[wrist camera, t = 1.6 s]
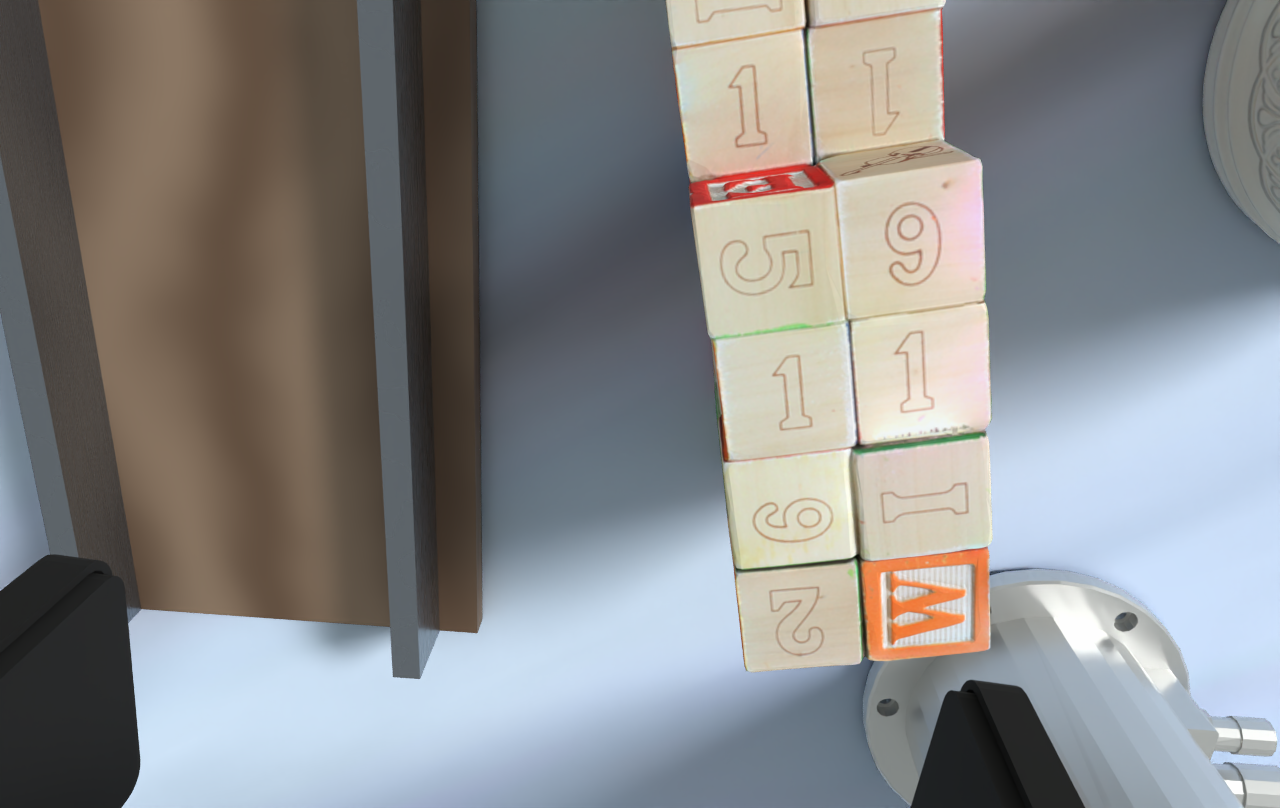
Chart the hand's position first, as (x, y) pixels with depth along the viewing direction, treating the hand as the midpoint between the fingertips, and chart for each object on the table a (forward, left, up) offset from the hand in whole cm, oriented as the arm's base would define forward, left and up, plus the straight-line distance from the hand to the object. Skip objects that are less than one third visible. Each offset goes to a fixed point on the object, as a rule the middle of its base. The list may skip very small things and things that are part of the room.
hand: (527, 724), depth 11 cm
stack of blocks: (-5, -3, -24) cm, 24 cm away
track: (+13, +1, -23) cm, 27 cm away
